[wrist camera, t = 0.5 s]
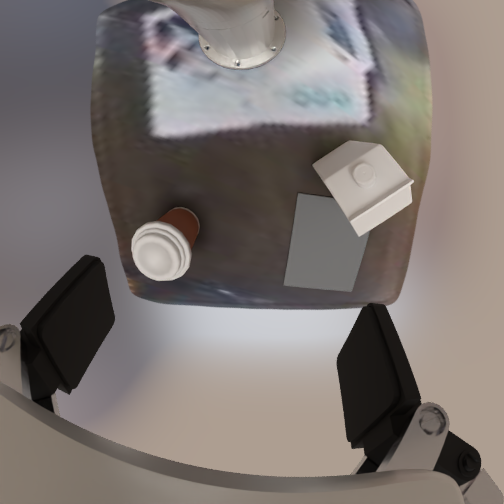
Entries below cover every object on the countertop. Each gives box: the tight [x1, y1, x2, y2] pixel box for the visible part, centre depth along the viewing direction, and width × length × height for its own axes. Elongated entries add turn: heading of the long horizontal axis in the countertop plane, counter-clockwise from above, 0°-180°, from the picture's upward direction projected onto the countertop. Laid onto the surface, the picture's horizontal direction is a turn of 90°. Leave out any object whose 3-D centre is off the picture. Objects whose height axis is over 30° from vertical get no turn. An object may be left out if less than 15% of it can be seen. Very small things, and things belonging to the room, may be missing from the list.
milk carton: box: [312, 140, 414, 236], centre depth 30 cm, size 7×7×19 cm
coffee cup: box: [132, 207, 200, 281], centre depth 40 cm, size 9×9×12 cm
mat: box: [284, 193, 370, 292], centre depth 45 cm, size 17×13×1 cm
